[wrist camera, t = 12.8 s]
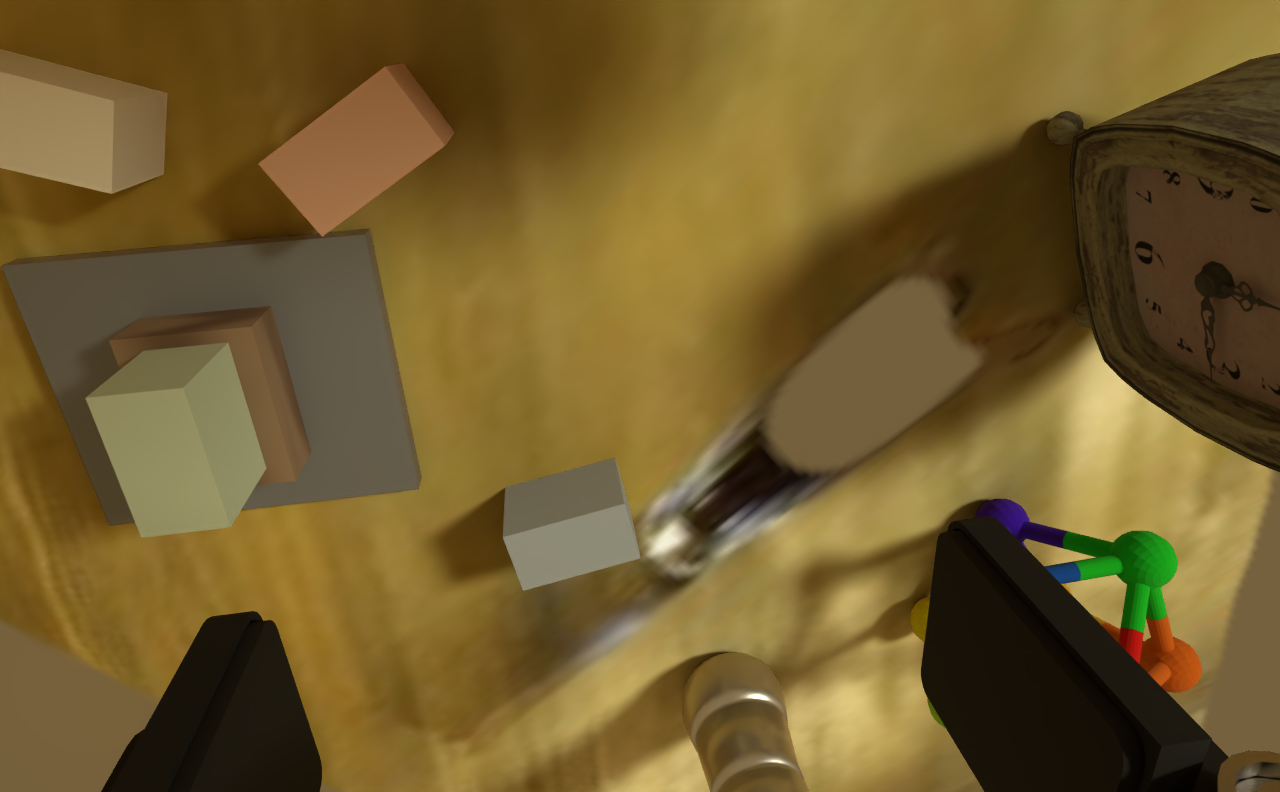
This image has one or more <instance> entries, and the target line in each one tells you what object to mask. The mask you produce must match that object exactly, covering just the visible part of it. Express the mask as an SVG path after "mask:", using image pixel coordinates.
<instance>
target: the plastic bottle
mask: <svg viewBox="0 0 1280 792" xmlns="http://www.w3.org/2000/svg"><path fill="white" fill-rule="evenodd" d="M682 715H683V721H684V724H685V726H686V729H687V732H688V734H689V737H690V739H691V741H692V743H693V745H694V747H695V749H696V751H697V753H698V756H699V759H700V762H701V765H702V768H703V771H704V774H705V777H706V780H707V783H708V786H709V789H710V792H809V789H808V787H807V785H806V782H805V781H804V778H803V775H802V773H801V770H800V768H799V766H798V762H797V759H796V755H795V751H794V747H793V743H792V739H791V735H790V732H789V728H788V723H787V712H786V705H785V700H784V695H783V691H782V688H781V685H780V684H779V682H778V680H777V679H776V677H775V676H774V674H773V673H772V671H771V670H770V668H769V667H768V666H767V665H766V664H765V663H764V662H762V661H761V660H759V659H757V658H754V657H752V656H750V655H748V654H744V653H736V652H732V653H724V654H719V655H716V656H714V657H711V658H709V659H707V660H706V661H704V662H703V663H701V664H700V665H699V666H698V667H697V668H696V669H695V670H694V671H693V672H692V674H691V676H690V677H689V679H688V680H687V682H686V684H685V686H684V689H683V694H682Z"/></svg>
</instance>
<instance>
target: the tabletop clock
mask: <svg viewBox="0 0 1280 792" xmlns="http://www.w3.org/2000/svg"><path fill="white" fill-rule="evenodd" d="M1047 136H1048V138H1049V140H1050V141H1051V142H1053V143H1055V144H1058V145H1063V146H1064V145H1068V144H1070V143H1072V142H1073V147H1072V153H1071V159H1070V185H1071V198H1072V209H1073V220H1074V231H1075V242H1076V252H1077V257H1078V262H1079V268H1080V273H1081V278H1082V284H1083V289H1084V294H1085V300H1083V301H1082V302H1080V303H1079V304H1078V305H1077V306H1076V308H1075V310H1074V318H1075V320H1076V322H1077V323H1078V324H1079V325H1081V326H1084V327H1092V330H1093V334H1094V337H1095V340H1096V342H1097V345H1098V347H1099V350H1100V352H1101V355H1102V357H1103V360H1104V361H1105V362H1106V363H1107V364H1108V365H1109V367H1110V368H1111V369H1112V370H1113V371H1114V372H1115V373H1116V374H1117V375H1118V376H1119V377H1120V378H1121V379H1122V380H1123V381H1125V382H1126V383H1127V384H1128V385H1129V386H1131V387H1132V388H1133V389H1134V390H1136V391H1137V392H1138V393H1139V394H1141V395H1142V396H1143V397H1145V398H1146V399H1147V400H1149V401H1150V402H1152V403H1153V404H1155V405H1156V406H1158V407H1159V408H1161V409H1162V410H1164V411H1165V412H1167V413H1168V414H1170V415H1171V416H1173V417H1174V418H1176V419H1177V420H1179V421H1180V422H1182V423H1183V424H1185V425H1186V426H1188V427H1189V428H1191V429H1192V430H1194V431H1195V432H1197V433H1199V434H1201V435H1203V436H1205V437H1207V438H1209V439H1211V440H1213V441H1215V442H1217V443H1218V444H1220V445H1222V446H1224V447H1226V448H1228V449H1230V450H1232V451H1234V452H1236V453H1238V454H1240V455H1242V456H1244V457H1246V458H1248V459H1250V460H1251V461H1254V462H1256V463H1258V464H1261V465H1263V466H1266V467H1268V468H1270V469H1273V470H1276V471H1278V472H1280V53H1278V54H1273V55H1268V56H1263V57H1259V58H1255V59H1251V60H1248V61H1246V62H1243V63H1241V64H1239V65H1236V66H1234V67H1232V68H1229V69H1227V70H1225V71H1222V72H1220V73H1217V74H1215V75H1213V76H1210V77H1208V78H1206V79H1203V80H1201V81H1199V82H1196V83H1194V84H1192V85H1189V86H1187V87H1185V88H1182V89H1180V90H1178V91H1175V92H1173V93H1171V94H1168V95H1166V96H1164V97H1161V98H1159V99H1157V100H1154V101H1152V102H1150V103H1147V104H1145V105H1143V106H1140V107H1138V108H1136V109H1133V110H1131V111H1129V112H1126V113H1124V114H1122V115H1119V116H1117V117H1115V118H1112V119H1110V120H1108V121H1105V122H1103V123H1101V124H1098V125H1096V126H1094V127H1091V128H1089V129H1088V130H1085V129H1083V121H1082V119H1081V117H1080V116H1079V115H1077V114H1075V113H1073V112H1069V111H1065V112H1061V113H1059V114H1058V115H1056V116H1055V117H1053V118H1052V119H1051V120H1050V122H1049V124H1048V126H1047Z"/></svg>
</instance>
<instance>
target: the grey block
mask: <svg viewBox="0 0 1280 792" xmlns="http://www.w3.org/2000/svg"><path fill="white" fill-rule="evenodd" d="M503 539H504V542H505V545H506V547H507V550H508V552H509V555H510V557H511V560H512V563H513V565H514V568H515V570H516V573H517V576H518V578H519V581H520V583H521V586H522V589H523V591H524V590H528V589H531V588H535V587H538V586H542V585H546V584H549V583H553V582H556V581H560V580H564V579H567V578H571V577H575V576H578V575H582V574H585V573H589V572H593V571H596V570H600V569H603V568H607V567H611V566H614V565H618V564H621V563H625V562H629V561H632V560H636V559H640V554H639V549H638V544H637V540H636V535H635V530H634V526H633V521H632V516H631V512H630V508H629V504H628V501H627V497H626V494H625V490H624V487H623V483H622V480H621V477H620V473H619V470H618V466H617V463H616V459H615V458H612V459H608V460H604V461H601V462H597V463H593V464H590V465H586V466H582V467H579V468H575V469H572V470H568V471H564V472H561V473H557V474H553V475H550V476H546V477H542V478H539V479H535V480H531V481H528V482H524V483H520V484H517V485H513V486H510V487H506V488H505V503H504V522H503Z"/></svg>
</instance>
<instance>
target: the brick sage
mask: <svg viewBox="0 0 1280 792" xmlns="http://www.w3.org/2000/svg"><path fill="white" fill-rule="evenodd" d="M86 401H87V403H88V406H89V408H90V411H91V413H92V416H93V418H94V421H95V423H96V426H97V428H98V431H99V433H100V436H101V438H102V441H103V443H104V446H105V448H106V451H107V453H108V456H109V458H110V461H111V463H112V466H113V468H114V471H115V473H116V476H117V478H118V481H119V483H120V486H121V488H122V491H123V493H124V496H125V498H126V501H127V503H128V506H129V508H130V511H131V513H132V516H133V518H134V521H135V523H136V526H137V528H138V531H139V533H140V536H141V538H144V537H152V536H161V535H169V534H178V533H186V532H194V531H203V530H211V529H220V528H228V527H231V526H232V524H233V522H234V521H235V519H236V517H237V516H238V514H239V513H240V511H241V509H242V508H243V506H244V504H245V503H246V501H247V499H248V498H249V496H250V494H251V493H252V491H253V490H254V488H255V486H256V485H257V483H258V481H259V480H260V478H261V476H262V475H263V473H264V472H265V470H266V465H265V462H264V459H263V456H262V452H261V449H260V446H259V442H258V439H257V436H256V432H255V429H254V426H253V423H252V419H251V416H250V413H249V409H248V406H247V403H246V400H245V396H244V393H243V390H242V386H241V383H240V380H239V377H238V373H237V370H236V367H235V363H234V360H233V357H232V354H231V350H230V347H229V344H228V343H218V344H208V345H197V346H187V347H177V348H167V349H156V350H146V351H143V352H141V353H140V354H139V355H138V356H136V357H135V358H134V359H133V360H131V361H130V362H129V363H128V364H127V365H125V366H124V367H123V368H122V369H120V370H119V371H118V372H117V373H115V374H114V375H113V376H112V377H110V378H109V379H108V380H107V381H106V382H104V383H103V384H102V385H101V386H99V387H98V388H97V389H96V390H94V391H93V392H92V393H91V394H90V395H88V396H87V397H86Z"/></svg>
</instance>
